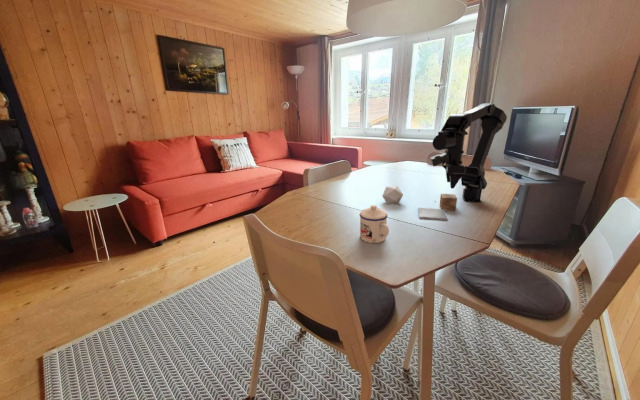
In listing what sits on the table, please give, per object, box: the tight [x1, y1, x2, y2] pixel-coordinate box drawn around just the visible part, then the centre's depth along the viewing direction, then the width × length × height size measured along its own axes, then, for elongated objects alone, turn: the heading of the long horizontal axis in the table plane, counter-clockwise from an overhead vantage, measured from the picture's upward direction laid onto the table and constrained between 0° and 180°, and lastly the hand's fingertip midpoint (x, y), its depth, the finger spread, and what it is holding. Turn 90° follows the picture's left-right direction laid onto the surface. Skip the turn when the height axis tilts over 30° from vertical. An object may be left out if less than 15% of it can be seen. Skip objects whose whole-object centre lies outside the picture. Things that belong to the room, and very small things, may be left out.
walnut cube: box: [439, 193, 458, 212], centre depth 110 cm, size 6×6×6 cm
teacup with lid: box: [359, 204, 390, 244], centre depth 86 cm, size 12×9×12 cm
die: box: [381, 185, 404, 205], centre depth 118 cm, size 8×9×10 cm
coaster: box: [417, 207, 448, 221], centre depth 105 cm, size 10×10×1 cm
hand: (450, 185), depth 108 cm, fingers open, 9 cm apart
